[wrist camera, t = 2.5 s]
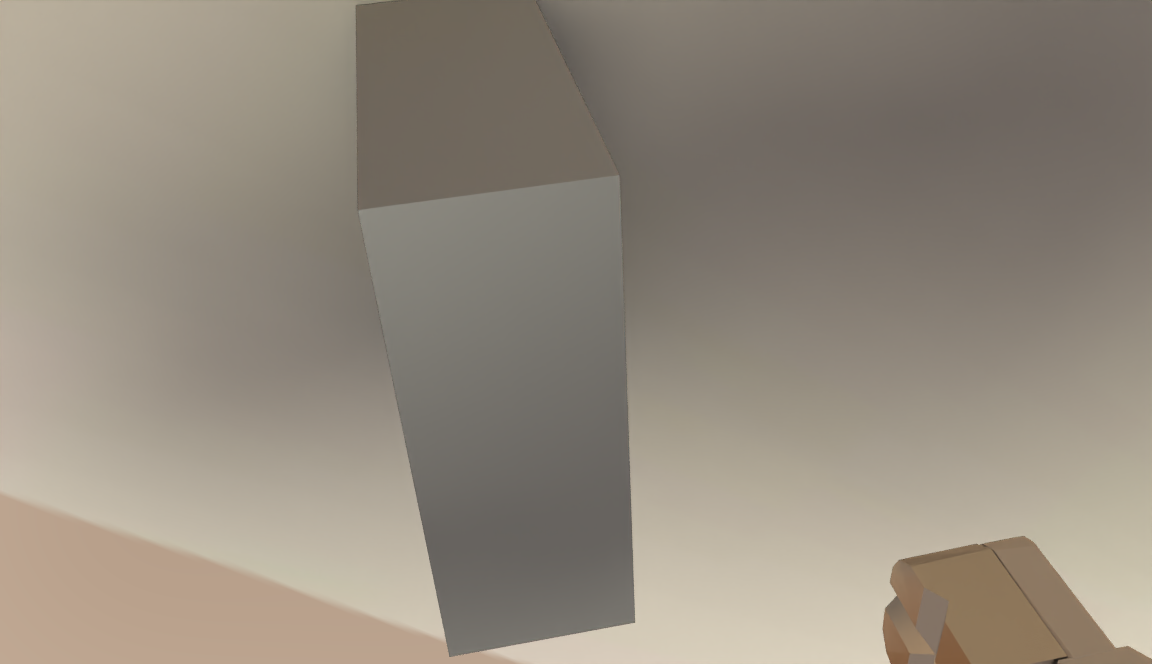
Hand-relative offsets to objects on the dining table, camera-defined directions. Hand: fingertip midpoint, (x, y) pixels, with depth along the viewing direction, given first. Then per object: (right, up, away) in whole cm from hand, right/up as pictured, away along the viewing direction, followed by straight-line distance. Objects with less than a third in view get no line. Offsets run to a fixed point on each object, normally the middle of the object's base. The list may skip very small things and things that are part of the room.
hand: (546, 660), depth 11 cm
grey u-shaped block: (-2, +6, +9) cm, 11 cm away
